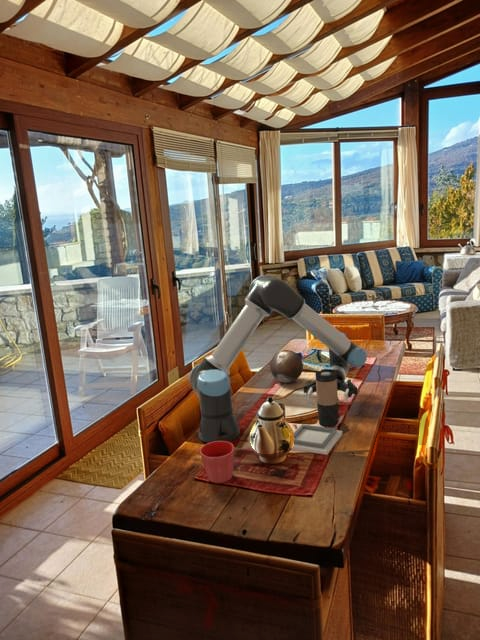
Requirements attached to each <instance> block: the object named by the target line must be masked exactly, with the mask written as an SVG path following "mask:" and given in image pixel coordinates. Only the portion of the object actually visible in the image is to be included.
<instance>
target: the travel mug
mask: <svg viewBox="0 0 480 640" xmlns="http://www.w3.org/2000/svg"><path fill="white" fill-rule="evenodd" d="M315 380H316V391H317V392H316V404H317V416H318V424H319V426H320V427H326V428H334V427H336V426H338V425H339V393H338V390H337V377H336V371H335V370H332V369H330V368H324V369H321V370H320V371H315Z"/></svg>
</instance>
